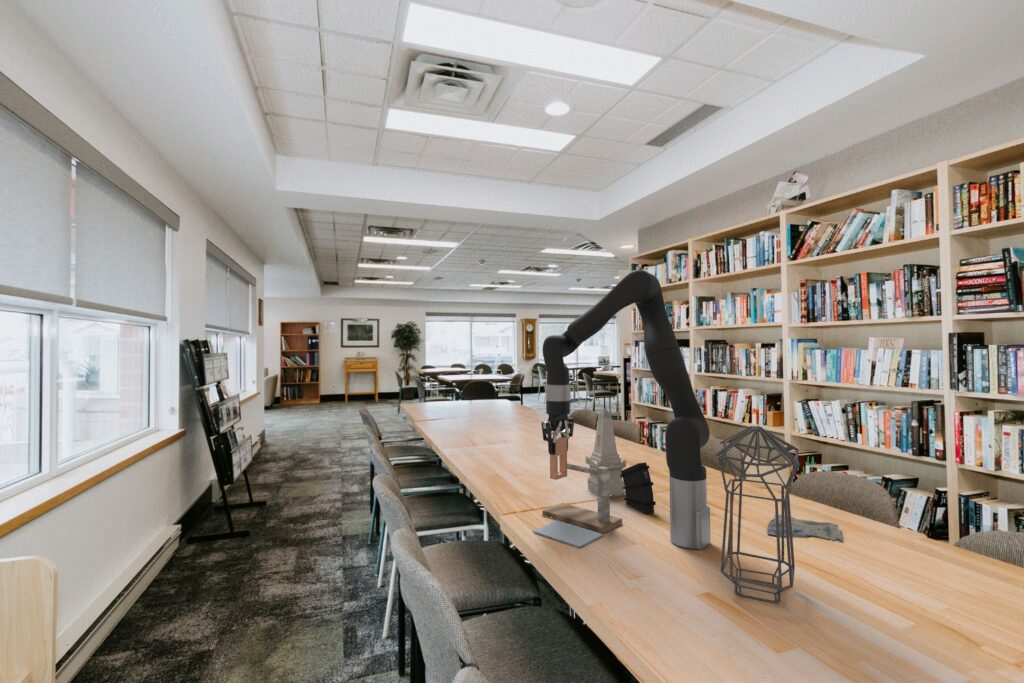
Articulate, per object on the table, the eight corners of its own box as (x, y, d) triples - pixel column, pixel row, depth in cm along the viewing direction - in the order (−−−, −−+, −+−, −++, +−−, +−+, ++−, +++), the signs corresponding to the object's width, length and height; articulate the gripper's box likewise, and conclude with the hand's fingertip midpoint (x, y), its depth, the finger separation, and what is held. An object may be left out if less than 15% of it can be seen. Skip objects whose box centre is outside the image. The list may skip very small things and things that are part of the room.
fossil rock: (836, 529, 138) (836, 521, 138) (844, 549, 125) (844, 540, 125) (767, 519, 146) (767, 511, 146) (767, 537, 133) (767, 528, 133)
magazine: (652, 512, 147) (638, 463, 153) (628, 519, 158) (616, 472, 164) (662, 510, 148) (647, 461, 155) (638, 517, 159) (625, 471, 165)
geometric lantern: (799, 584, 105) (799, 423, 105) (800, 621, 92) (799, 436, 91) (721, 567, 113) (720, 417, 113) (710, 599, 100) (710, 429, 99)
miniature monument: (586, 489, 178) (585, 407, 178) (611, 486, 181) (610, 405, 181) (599, 497, 168) (598, 410, 168) (626, 494, 171) (625, 409, 171)
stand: (622, 523, 142) (621, 466, 143) (603, 533, 135) (602, 472, 135) (562, 507, 157) (561, 455, 158) (542, 515, 150) (541, 460, 150)
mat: (603, 536, 133) (603, 534, 133) (579, 548, 125) (579, 546, 125) (557, 522, 144) (557, 520, 144) (532, 532, 136) (532, 530, 136)
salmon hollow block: (567, 476, 153) (566, 437, 154) (556, 479, 149) (555, 440, 150) (561, 474, 155) (560, 436, 155) (550, 478, 151) (549, 439, 151)
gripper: (553, 401, 145) (553, 458, 145) (581, 397, 155) (581, 451, 155) (534, 399, 150) (534, 454, 150) (562, 396, 160) (563, 447, 160)
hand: (558, 452), depth 152 cm, fingers closed on salmon hollow block, 5 cm apart
